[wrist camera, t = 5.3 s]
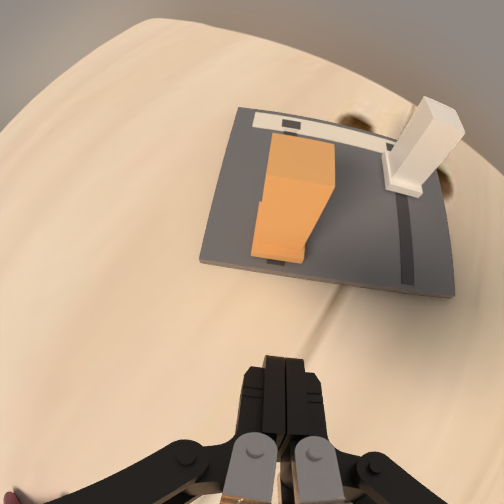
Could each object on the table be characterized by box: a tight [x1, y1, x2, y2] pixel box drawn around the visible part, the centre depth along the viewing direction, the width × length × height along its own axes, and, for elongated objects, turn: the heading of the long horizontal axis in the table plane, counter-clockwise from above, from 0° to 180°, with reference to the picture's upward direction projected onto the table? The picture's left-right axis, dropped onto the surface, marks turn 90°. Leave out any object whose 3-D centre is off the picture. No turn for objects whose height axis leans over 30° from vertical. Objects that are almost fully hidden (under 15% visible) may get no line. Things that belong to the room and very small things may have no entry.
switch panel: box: [199, 107, 455, 298], centre depth 26 cm, size 24×18×1 cm
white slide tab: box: [381, 96, 465, 198], centre depth 22 cm, size 4×4×10 cm
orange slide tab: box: [251, 133, 335, 264], centre depth 19 cm, size 4×4×10 cm
